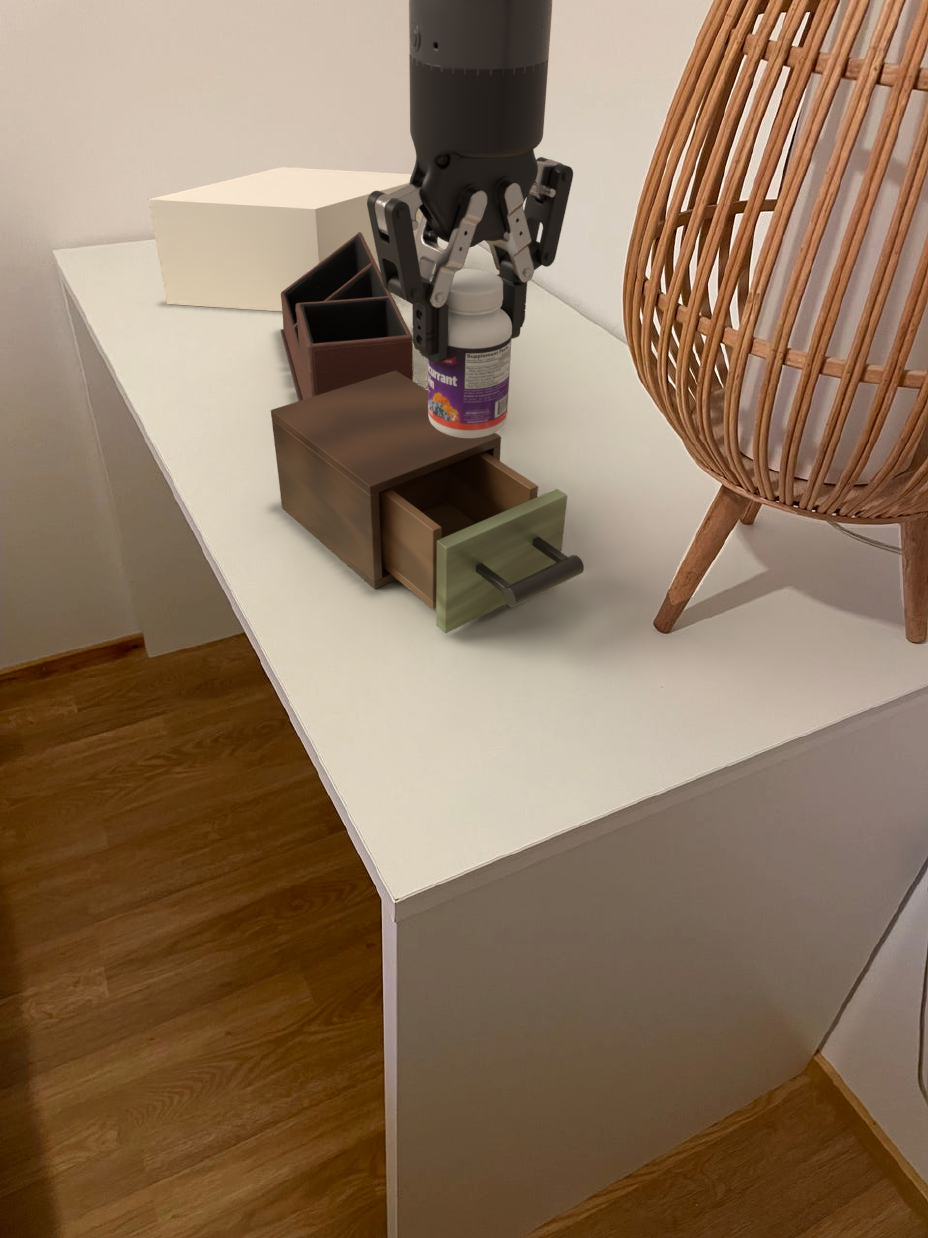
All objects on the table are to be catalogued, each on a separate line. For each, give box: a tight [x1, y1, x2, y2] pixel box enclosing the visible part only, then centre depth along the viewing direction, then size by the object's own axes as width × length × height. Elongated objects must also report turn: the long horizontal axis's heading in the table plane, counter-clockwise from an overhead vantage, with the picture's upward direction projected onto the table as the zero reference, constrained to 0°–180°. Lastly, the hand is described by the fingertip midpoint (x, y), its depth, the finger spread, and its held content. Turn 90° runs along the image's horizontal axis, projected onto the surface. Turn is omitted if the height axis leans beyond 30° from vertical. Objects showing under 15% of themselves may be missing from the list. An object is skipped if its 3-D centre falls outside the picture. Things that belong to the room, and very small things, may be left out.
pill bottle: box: [427, 268, 513, 438], centre depth 63 cm, size 5×5×10 cm
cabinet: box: [270, 371, 502, 590], centre depth 82 cm, size 15×13×10 cm
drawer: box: [378, 451, 585, 634], centre depth 75 cm, size 18×11×8 cm, turn 38°
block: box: [148, 166, 436, 312], centre depth 121 cm, size 18×35×12 cm, turn 110°
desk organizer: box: [279, 232, 414, 402], centre depth 101 cm, size 10×29×11 cm, turn 14°
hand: (470, 344), depth 63 cm, fingers closed on pill bottle, 5 cm apart
